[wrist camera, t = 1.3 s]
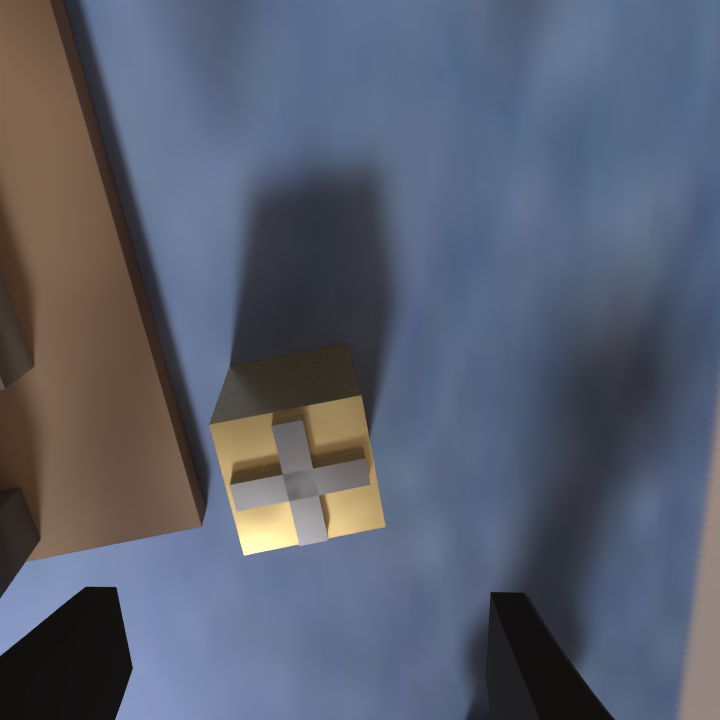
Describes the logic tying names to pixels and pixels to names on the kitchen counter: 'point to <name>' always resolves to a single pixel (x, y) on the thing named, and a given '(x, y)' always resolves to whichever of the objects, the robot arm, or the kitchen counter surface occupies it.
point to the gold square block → (296, 450)
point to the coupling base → (74, 323)
